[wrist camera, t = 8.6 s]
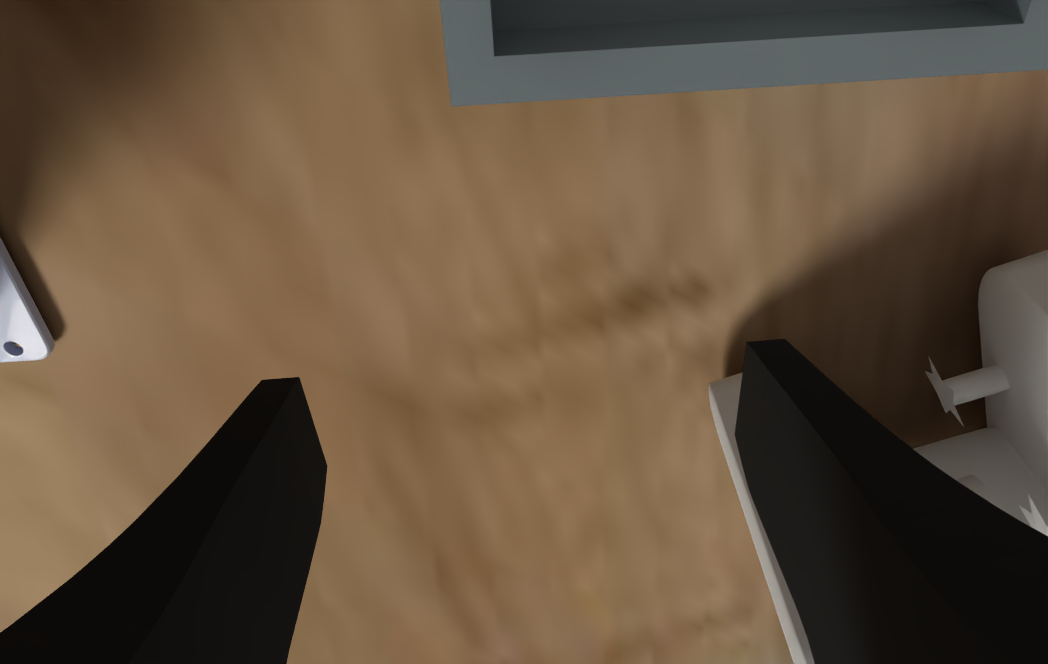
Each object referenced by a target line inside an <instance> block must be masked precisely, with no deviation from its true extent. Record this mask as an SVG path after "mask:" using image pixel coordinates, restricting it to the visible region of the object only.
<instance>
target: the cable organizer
mask: <svg viewBox="0 0 1048 664" xmlns="http://www.w3.org/2000/svg"><path fill="white" fill-rule="evenodd" d="M978 313H979V326H980V340H981V353H982V366H983V368H981V369H978V370H975V371H971V372H968V373H965V374H962V375H958V376H955V377H952V378H948V379H945V380H941V378H940V376H939V374H938V372H937V371H936V369H935V367H934V365H933V363H932V362H931V360H930V358H929V361H930V365H931V369H932V373H929V372H927V371H925V373H926V374H927V376H928V378H929V380H930V382H931V383H932V385H933V387H934V389H935V391H936V392H937V394H938V397H939V399H940V401H941V404H942V406H943V408H944V411H945V413H947V412H948V411H949V410H951V412H952V413H953V414H954V415H955V417H956V418H957V419H958V420H959V422H960V423H961V424H962V425H963V423H962V421H961V419H960V416H959V414H958V412H957V410H956V408H955V405H959V404H962V403H965V402H969V401H972V400H975V399H979V398H982V397H985V406H986V419H987V428H982V429H979V430H975V431H972V432H968V433H965V434H962V435H958V436H955V437H951V438H948V439H944V440H941V441H937V442H934V443H930V444H927V445H923V446H920V447H917V448H913V449H914V450H915V451H916V452H918V453H919V454H920V455H922V456H923V457H924V458H926V459H927V460H928V461H930V462H931V463H932V464H934V465H935V466H936V467H938V468H939V469H941V470H942V471H943V472H945V473H946V474H948V475H949V476H951V477H952V478H953V479H955V480H956V481H958V482H960V483H961V484H963V485H964V486H966V487H967V488H969V489H970V490H972V491H973V492H975V493H976V494H978V495H980V496H981V497H983V498H984V499H986V500H987V501H989V502H990V503H992V504H993V505H995V506H997V507H998V508H1000V509H1001V510H1003V511H1005V512H1006V513H1008V514H1010V515H1011V516H1013V517H1015V518H1016V519H1018V520H1020V521H1021V522H1023V523H1025V524H1027V525H1029V526H1030V527H1032V528H1034V529H1036V530H1037V531H1039V532H1041V533H1043V534H1045V535H1046V536H1048V250H1045V251H1042V252H1039V253H1036V254H1032V255H1029V256H1026V257H1023V258H1020V259H1017V260H1014V261H1011V262H1008V263H1005V264H1002V265H999V266H996V267H993V268H990V269H989V270H988V271H987V272H986V273H985V274H984V276H983V278H982V280H981V284H980V288H979V295H978ZM742 373H743V372H742ZM742 373H739V374H736V375H733V376H730V377H727V378H723V379H720V380H717V381H714V382H711V383H710V384H709V400H710V405H711V410H712V414H713V418H714V422H715V426H716V429H717V433H718V436H719V439H720V442H721V445H722V448H723V451H724V454H725V457H726V460H727V463H728V466H729V469H730V472H731V475H732V478H733V481H734V484H735V487H736V490H737V493H738V496H739V499H740V502H741V505H742V508H743V512H744V515H745V518H746V521H747V524H748V527H749V530H750V533H751V536H752V539H753V542H754V545H755V548H756V551H757V554H758V557H759V560H760V563H761V566H762V569H763V572H764V575H765V578H766V581H767V584H768V587H769V590H770V593H771V596H772V599H773V602H774V605H775V608H776V611H777V614H778V617H779V620H780V623H781V626H782V629H783V632H784V635H785V638H786V641H787V644H788V647H789V650H790V653H791V656H792V659H793V662H794V664H815V663H814V659H813V656H812V653H811V649H810V646H809V642H808V639H807V636H806V633H805V630H804V628H803V625H802V622H801V619H800V616H799V614H798V611H797V608H796V606H795V603H794V601H793V598H792V596H791V594H790V591H789V589H788V586H787V584H786V581H785V579H784V576H783V574H782V571H781V569H780V567H779V564H778V562H777V559H776V557H775V554H774V552H773V549H772V547H771V544H770V542H769V540H768V537H767V535H766V532H765V530H764V527H763V525H762V522H761V520H760V517H759V515H758V512H757V510H756V507H755V505H754V502H753V499H752V497H751V494H750V492H749V489H748V485H747V481H746V478H745V474H744V470H743V467H742V463H741V459H740V455H739V451H738V447H737V443H736V439H735V427H736V419H737V411H738V404H739V396H740V388H741V381H742ZM963 427H964V425H963ZM964 428H965V427H964Z"/></svg>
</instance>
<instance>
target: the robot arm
mask: <svg viewBox="0 0 1048 664" xmlns="http://www.w3.org/2000/svg"><path fill="white" fill-rule="evenodd" d="M12 342H15V343H17V344H19V345H20V346H21V347H18V346H16V345H14V344H13V343H12ZM54 345H55V344H54V340H53V338H52V336H51V334H50V332H49V330H48V328H47V326H46V324H45V322H44V320H43V318H42V316H41V315H40V313H39V311H38V309H37V307H36V305H35V303H34V301H33V299H32V297H31V295H30V293H29V291H28V290H27V288H26V286H25V284H24V282H23V280H22V278H21V276H20V274H19V272H18V270H17V268H16V266H15V265H14V263H13V261H12V259H11V257H10V255H9V253H8V251H7V249H6V247H5V245H4V243H3V241H2V240H1V238H0V362H15V361H32V360H41V359H45V358H46V357H47V356H49V354H50V353H51V352H52V350H53V349H54ZM735 439H736V443H737V447H738V451H739V455H740V459H741V463H742V467H743V470H744V474H745V478H746V481H747V485H748V489H749V492H750V494H751V497H752V499H753V502H754V505H755V507H756V510H757V512H758V515H759V517H760V520H761V522H762V525H763V527H764V530H765V532H766V535H767V537H768V540H769V542H770V544H771V547H772V549H773V552H774V554H775V557H776V559H777V562H778V564H779V567H780V569H781V571H782V574H783V576H784V579H785V581H786V584H787V586H788V589H789V591H790V594H791V596H792V598H793V601H794V603H795V606H796V608H797V611H798V614H799V616H800V619H801V622H802V625H803V628H804V630H805V633H806V636H807V639H808V642H809V646H810V649H811V653H812V656H813V659H814V663H815V664H1048V536H1046V535H1045V534H1043V533H1041V532H1039V531H1037V530H1036V529H1034V528H1032V527H1030V526H1029V525H1027V524H1025V523H1023V522H1021V521H1020V520H1018V519H1016V518H1015V517H1013V516H1011V515H1010V514H1008V513H1006V512H1005V511H1003V510H1001V509H1000V508H998V507H997V506H995V505H993V504H992V503H990V502H989V501H987V500H986V499H984V498H983V497H981V496H980V495H978V494H976V493H975V492H973V491H972V490H970V489H969V488H967V487H966V486H964V485H963V484H961V483H960V482H958V481H956V480H955V479H953V478H952V477H951V476H949V475H948V474H946V473H945V472H943V471H942V470H941V469H939V468H938V467H936V466H935V465H934V464H932V463H931V462H930V461H928V460H927V459H926V458H924V457H923V456H922V455H920V454H919V453H918V452H916V451H915V450H914V449H912V448H911V447H910V446H908V445H907V444H906V443H904V442H903V441H902V440H900V439H899V438H898V437H897V436H895V435H894V434H893V433H892V432H890V431H889V430H888V429H887V428H885V427H884V426H883V425H882V424H880V423H879V422H878V421H877V420H875V419H874V418H873V417H872V416H871V415H870V414H868V413H867V412H866V411H865V410H864V409H862V408H861V407H860V406H859V405H858V404H857V403H855V402H854V401H853V400H852V399H851V398H850V397H848V396H847V395H846V394H845V393H844V392H843V391H842V390H841V389H839V388H838V387H837V386H836V385H835V384H834V383H833V382H832V381H831V380H829V379H828V378H827V377H826V376H825V375H824V374H823V373H822V372H821V371H820V370H818V369H817V368H816V367H815V366H814V365H813V364H812V363H811V362H810V361H809V360H807V359H806V358H805V357H804V356H803V355H802V354H801V353H800V352H799V351H798V350H796V349H795V348H794V347H793V346H792V345H791V344H790V343H789V342H788V341H786V340H785V339H778V340H766V341H753V342H746V350H745V358H744V365H743V373H742V381H741V388H740V396H739V404H738V411H737V419H736V427H735ZM326 474H327V464H326V461H325V457H324V454H323V451H322V448H321V445H320V442H319V438H318V435H317V432H316V429H315V426H314V423H313V419H312V416H311V413H310V410H309V407H308V404H307V400H306V397H305V394H304V391H303V388H302V385H301V381H300V378H299V377H294V378H281V379H268V380H261V381H260V383H259V384H258V385H257V386H256V387H255V388H254V389H253V391H252V392H251V393H250V394H249V395H248V396H247V397H246V399H245V400H244V401H243V402H242V403H241V404H240V406H239V407H238V408H237V409H236V410H235V411H234V413H233V414H232V415H231V416H230V417H229V419H228V420H227V421H226V422H225V423H224V424H223V426H222V427H221V428H220V429H219V430H218V431H217V433H216V434H215V435H214V436H213V437H212V439H211V440H210V441H209V442H208V443H207V444H206V445H205V447H204V448H203V449H202V450H201V451H200V452H199V453H198V454H197V456H196V457H195V458H194V459H193V460H192V461H191V462H190V463H189V465H188V466H187V467H186V468H185V469H184V470H183V471H182V473H181V474H180V475H179V476H178V477H177V478H176V479H175V480H174V481H173V482H172V483H171V484H170V485H169V486H168V487H167V488H166V489H165V490H164V491H163V493H162V494H161V495H160V496H159V497H158V498H157V499H156V500H155V501H154V502H153V503H152V504H151V505H150V506H149V507H148V508H147V509H146V510H145V511H144V512H143V513H142V514H141V515H140V516H139V517H138V518H137V519H136V520H135V521H134V522H133V523H132V524H131V525H130V526H129V527H128V528H127V529H126V530H125V531H124V532H123V533H122V534H121V535H119V536H118V537H117V538H116V539H115V540H114V541H113V542H112V543H111V544H110V545H109V546H108V547H106V548H105V549H104V550H103V551H102V552H101V553H100V554H98V555H97V556H96V557H95V558H94V559H93V560H92V561H90V562H89V563H88V564H87V565H86V566H85V567H84V568H82V569H81V570H80V571H79V572H78V573H77V574H75V575H74V576H73V577H72V578H71V579H69V580H68V581H67V582H66V583H64V584H63V585H62V586H60V587H59V588H58V589H57V590H55V591H54V592H53V593H51V594H50V595H49V596H48V597H46V598H45V599H44V600H42V601H41V602H40V603H39V604H37V605H36V606H35V607H33V608H32V609H31V610H30V611H28V612H27V613H26V614H24V615H23V616H22V617H21V618H19V619H18V620H17V621H15V622H14V623H13V624H12V625H10V626H9V627H8V628H6V629H5V630H3V631H2V632H1V633H0V664H286V663H287V658H288V653H289V648H290V644H291V640H292V637H293V633H294V629H295V625H296V621H297V617H298V613H299V609H300V605H301V601H302V597H303V593H304V589H305V585H306V581H307V577H308V573H309V570H310V566H311V561H312V557H313V553H314V549H315V545H316V541H317V537H318V533H319V528H320V524H321V518H322V510H323V502H324V493H325V483H326Z"/></svg>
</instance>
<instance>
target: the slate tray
mask: <svg viewBox="0 0 1048 664" xmlns="http://www.w3.org/2000/svg"><path fill="white" fill-rule="evenodd" d="M440 8H441V17H442V26H443V35H444V44H445V53H446V62H447V71H448V81H449V90H450V99H451V106H466V105H482V104H498V103H514V102H531V101H547V100H563V99H579V98H596V97H612V96H628V95H644V94H660V93H677V92H693V91H709V90H725V89H741V88H758V87H774V86H790V85H806V84H823V83H839V82H855V81H871V80H887V79H904V78H920V77H936V76H952V75H968V74H985V73H1001V72H1017V71H1033V70H1048V0H440Z"/></svg>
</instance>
